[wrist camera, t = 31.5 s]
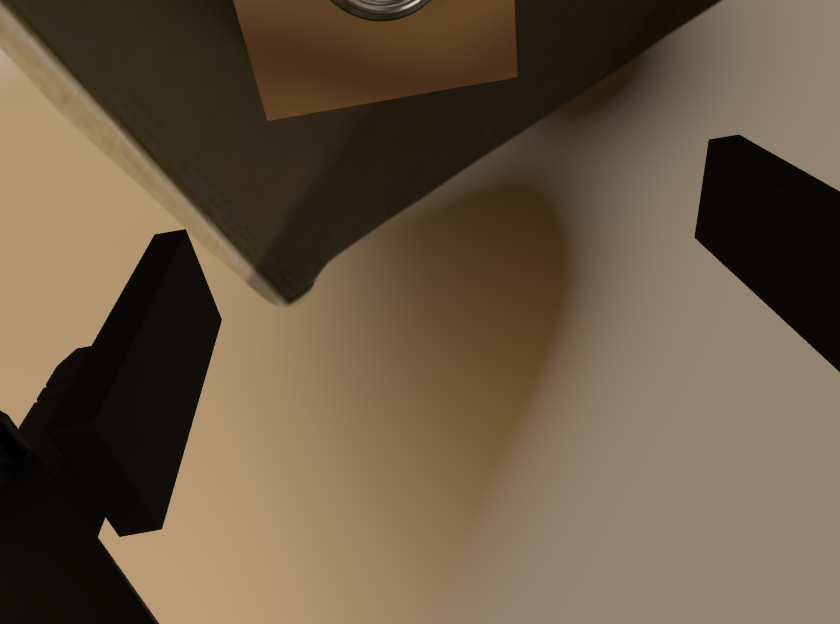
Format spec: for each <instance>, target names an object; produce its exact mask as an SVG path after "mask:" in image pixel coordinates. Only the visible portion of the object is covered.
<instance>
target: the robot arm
mask: <svg viewBox="0 0 840 624" xmlns="http://www.w3.org/2000/svg"><path fill="white" fill-rule="evenodd" d="M695 239H697V240H698V241H699V242H700V243H701V244H702V245H703V246H704V247H705V248H706V249H707V250H709V251H710V252H711V253H712V254H713V255H714V256H715V257H716V258H717V259H718V260H719V261H720V262H721V263H723V264H724V265H725V266H726V267H727V268H728V269H729V270H730V271H731V272H732V273H734V275H735V276H737V277H738V278H739V279H740V280H741V281H742V282H743V283H744V284H745V285H746V286H747V287H748V288H749V289H751V290H752V291H753V292H754V293H755V294H756V295H757V296H758V297H759V298H760V299H761V300H762V301H764V302H765V303H766V304H767V305H768V306H769V307H770V308H771V309H772V310H773V311H774V312H776V314H778V315H779V316H780V317H781V318H782V319H783V320H784V321H785V322H786V323H787V324H788V325H790V326H791V327H792V328H793V329H794V330H795V331H796V332H797V333H798V334H799V335H800V336H801V337H803V339H805V340H806V341H807V342H808V343H809V344H810V345H811V346H812V347H813V348H814V349H815V350H816V351H818V352H819V353H820V354H821V355H822V356H823V357H824V358H825V359H826V360H827V361H828V362H829V363H831V364H832V365H833V366H834V367H835V368H836V369H837V370H838V371H839V372H840V191H838V190H836V189H834V188H832V187H831V186H829V185H827V184H825V183H824V182H822V181H820V180H818V179H816V178H815V177H813V176H811V175H809V174H808V173H806V172H804V171H802V170H801V169H799V168H797V167H795V166H794V165H792V164H790V163H788V162H787V161H785V160H783V159H781V158H779V157H778V156H776V155H774V154H772V153H771V152H769V151H767V150H765V149H763V148H762V147H760V146H758V145H756V144H755V143H753V142H751V141H749V140H748V139H746V138H744V137H742V136H740V135H734V136H728V137H722V138H717V139H710V140H709V142H708V149H707V156H706V163H705V169H704V176H703V183H702V190H701V197H700V204H699V211H698V217H697V224H696V231H695ZM221 321H222V319H221V316H220V314H219V312H218V309H217V306H216V304H215V302H214V299H213V296H212V294H211V291H210V289H209V286H208V284H207V281H206V279H205V276H204V274H203V271H202V269H201V266H200V264H199V261H198V259H197V256H196V254H195V251H194V249H193V246H192V244H191V241H190V239H189V236H188V234H187V231H186V229H184V230H179V231H172V232H166V233H161V234H155V235H154V237H153V238H152V240H151V242H150V244H149V246H148V247H147V249H146V251H145V253H144V254H143V256H142V258H141V260H140V261H139V263H138V265H137V267H136V268H135V270H134V272H133V274H132V275H131V277H130V279H129V281H128V283H127V284H126V286H125V288H124V290H123V291H122V293H121V295H120V297H119V298H118V300H117V302H116V304H115V305H114V307H113V309H112V311H111V312H110V314H109V316H108V318H107V320H106V321H105V323H104V325H103V327H102V329H101V330H100V332H99V334H98V335H97V337H96V339H95V341H94V342H93V344H92V346H89V347H83V348H78V349H76V350H75V351H74V352H73V353H71V354H70V355H69V356H68V357H67V358H66V359H65V360H63V361H62V362H61V363H60V364H59V365H58V366H57V367H56V369H55V370H54V372H53V374H52V375H51V377H50V378H49V380H48V382H47V383H46V388H43V390H42V391H41V393H40V395H39V396H38V398H37V403H34V404H33V406H32V408H31V409H30V411H29V412H28V414H27V416H26V417H25V419H24V420H23V422H22V424H21V425H20V427H19V429H18V428H17V427H16V425H15V424H14V423H13V421H12V420H11V419H10V417H9V416H8V415H7V414H5V413H3V412H2V411H0V624H159V623H158V622H157V620H156V619H155V617H154V616H153V614H152V613H151V612H150V610H149V609H148V607H147V606H146V605H145V603H144V602H143V600H142V599H141V597H140V596H139V595H138V593H137V592H136V591H135V589H134V588H133V586H132V585H131V583H130V582H129V581H128V579H127V578H126V576H125V575H124V573H123V572H122V571H121V569H120V568H119V566H118V565H117V564H116V563H115V561H114V559H113V558H112V557H111V555H110V554H109V552H108V551H107V550H106V548H105V547H104V545H103V544H102V543H101V541H100V540H99V539H98V535H99V532H100V530H101V527H102V525H103V522H104V519H105V517H106V518H107V520H108V521H109V522H110V524H111V525H112V527H113V528H114V530H115V531H116V533H117V534H118V536H119V537H122V536H127V535H133V534H138V533H144V532H150V531H155V530H161V529H162V527H163V523H164V520H165V516H166V513H167V509H168V506H169V502H170V499H171V495H172V492H173V488H174V485H175V482H176V478H177V475H178V471H179V467H180V464H181V460H182V457H183V454H184V450H185V447H186V443H187V440H188V436H189V433H190V429H191V426H192V422H193V418H194V415H195V411H196V408H197V405H198V401H199V398H200V394H201V391H202V387H203V384H204V380H205V377H206V373H207V370H208V366H209V363H210V359H211V356H212V352H213V349H214V345H215V342H216V338H217V335H218V331H219V328H220V324H221Z"/></svg>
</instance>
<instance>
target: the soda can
mask: <svg viewBox="0 0 840 624" xmlns="http://www.w3.org/2000/svg"><path fill="white" fill-rule="evenodd" d="M330 1H331V2H332V3H333V4H335V5H336V6H337V7H339V8H340V9H341V10H343V11H345V12H347V13H349V14H351V15H352V16H355V17H358V18H361V19H364V20H369V21H376V22H381V21H393V20H398V19H401V18H404V17H407V16H409V15H411V14H413V13H415V12H417V11H418V10H420V9H421V8H423V7H424V6H425V5H426V4H427V3H429V2H430V1H431V0H330Z"/></svg>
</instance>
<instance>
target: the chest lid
mask: <svg viewBox="0 0 840 624" xmlns="http://www.w3.org/2000/svg"><path fill="white" fill-rule="evenodd" d="M233 2H234V6H235V9H236V13H237V16H238V20H239V23H240V27H241V30H242V34H243V37H244V41H245V44H246V48H247V51H248V55H249V58H250V62H251V65H252V69H253V72H254V76H255V79H256V83H257V86H258V90H259V93H260V97H261V100H262V104H263V107H264V111H265V114H266V118H267V120H268V121H270V120H276V119H281V118H287V117H293V116H298V115H304V114H310V113H316V112H321V111H327V110H333V109H338V108H344V107H350V106H355V105H361V104H367V103H372V102H378V101H384V100H389V99H395V98H401V97H406V96H412V95H418V94H423V93H429V92H435V91H440V90H446V89H452V88H457V87H463V86H469V85H475V84H480V83H486V82H492V81H497V80H503V79H509V78H514V77H517V76H518V72H517V50H516V27H515V4H514V0H431V1H430V2H429V3H427V4H426V5H425V6H424V7H423V8H421V9H420V10H418V11H417V12H415V13H413V14H411V15H409V16H407V17H404V18H401V19H398V20H393V21H381V22H376V21H369V20H364V19H361V18H358V17H355V16H352V15H351V14H349V13H347V12H345V11H343V10H341V9H340V8H339V7H337V6H336V5H335V4H333V3H332V2H331V1H330V0H233Z"/></svg>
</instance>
